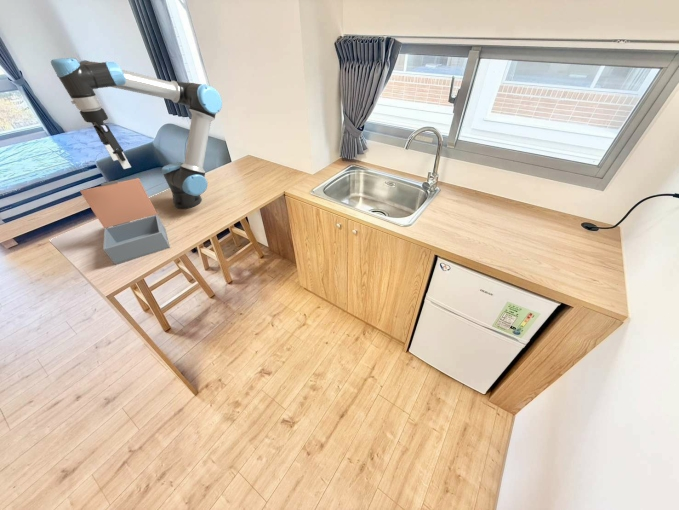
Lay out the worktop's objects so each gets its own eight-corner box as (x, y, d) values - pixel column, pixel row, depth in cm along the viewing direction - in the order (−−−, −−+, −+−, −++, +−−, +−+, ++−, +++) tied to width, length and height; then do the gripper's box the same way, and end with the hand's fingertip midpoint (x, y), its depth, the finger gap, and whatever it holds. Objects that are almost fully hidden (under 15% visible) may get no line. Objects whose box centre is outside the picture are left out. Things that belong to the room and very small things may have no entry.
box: (115, 243, 128) (104, 228, 122) (165, 229, 137) (157, 214, 131) (115, 265, 117) (103, 249, 111) (169, 247, 126) (161, 232, 120)
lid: (104, 228, 122) (104, 227, 123) (157, 214, 131) (157, 213, 132) (78, 188, 112) (78, 188, 113) (137, 176, 121) (137, 175, 121)
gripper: (70, 105, 104) (103, 159, 118) (87, 116, 92) (121, 174, 106) (93, 102, 108) (122, 154, 122) (112, 112, 96) (142, 168, 110)
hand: (122, 163), depth 114 cm, fingers open, 13 cm apart
